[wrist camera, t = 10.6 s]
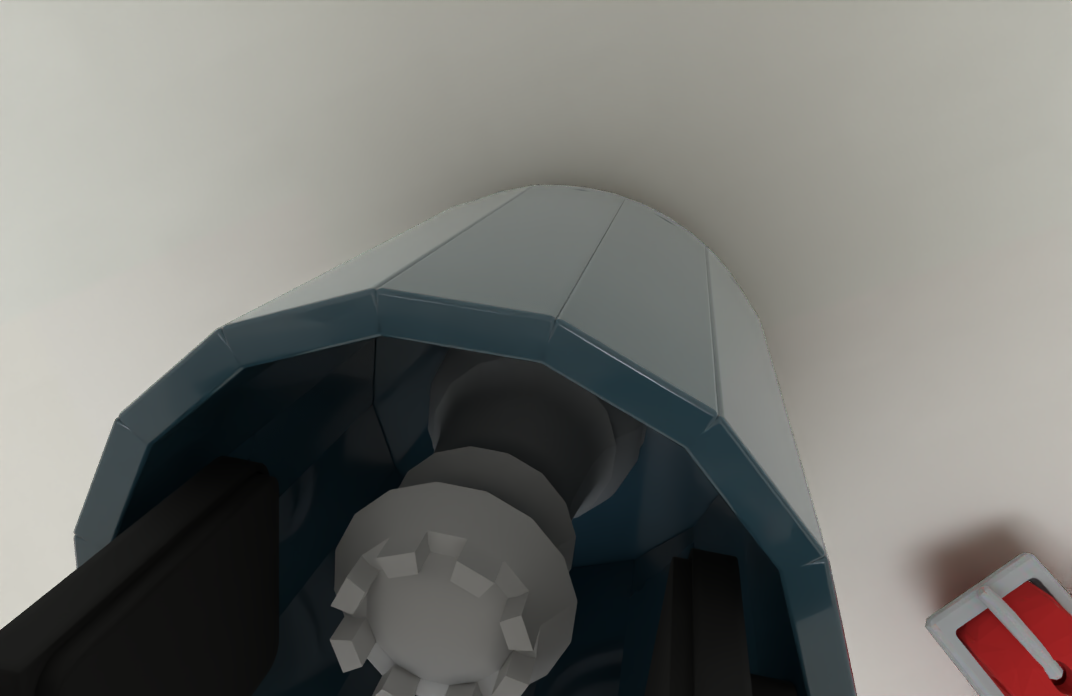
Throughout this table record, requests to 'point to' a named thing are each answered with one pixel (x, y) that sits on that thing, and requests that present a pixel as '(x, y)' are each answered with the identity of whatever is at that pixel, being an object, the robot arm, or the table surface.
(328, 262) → the table surface
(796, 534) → the tumbler
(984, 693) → the tracker holder
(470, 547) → the rook chess piece
